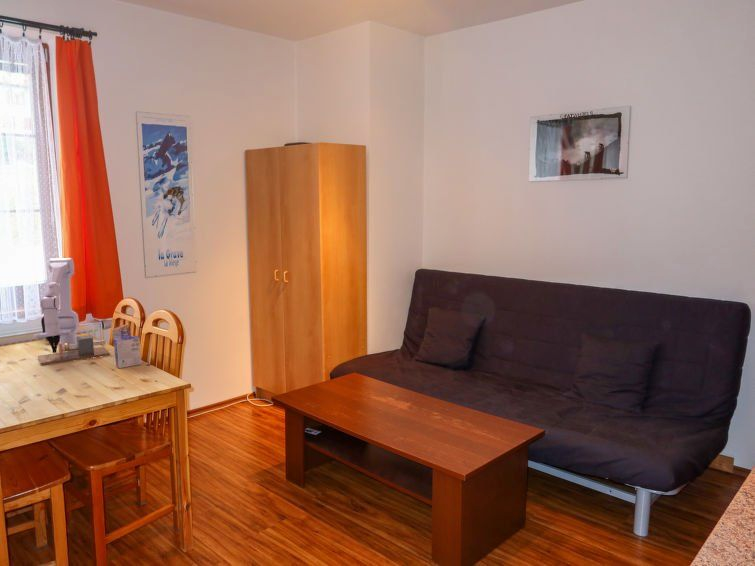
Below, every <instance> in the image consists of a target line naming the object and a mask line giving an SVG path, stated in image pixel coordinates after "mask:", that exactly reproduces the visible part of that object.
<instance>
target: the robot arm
mask: <svg viewBox="0 0 755 566" xmlns="http://www.w3.org/2000/svg"><path fill="white" fill-rule="evenodd" d="M47 264H48V265H47V267H48V270H49V272H50V274H51V275H50V282H49V283H48V284H47V285H46V286H45V287H46V288H45V291H44V296H43V297H41V299H40V308H41V313H42V314H43V316H44V322H45V333H43V332H41V333H35V334H34V335H33V336H34V340H38V339H45V338H47V339H46V341H47V342H48V344H49V345H50V347H51V350H52V354H55V353H58V352H57V349H58V343H59V340H60V341H61V343H62V345H64V344H65V343H69V345H70V344H77V339H76V337H77V329H78V328H79V327H80V321H79V320H80V319H79V314H78V313H77V312H76V311H74V310H73V309H72V290H71V289H72V288H71V279H72V278H71V277H72V276H73V275H75V263H74V260H73V258H72V257H69V258H67V257H66V258H64V257H63V258H49V260H48V263H47ZM58 310H60V311H59V312H58ZM61 316H71V317H61ZM70 350H71V349H69V351H70ZM74 350H77V348H75V349H74Z"/></svg>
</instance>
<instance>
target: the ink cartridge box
mask: <svg viewBox="0 0 755 566" xmlns="http://www.w3.org/2000/svg"><path fill="white" fill-rule="evenodd" d="M123 334H128V335H126V336H123ZM130 334H131V332H130V333H129V332H124V333H121V338H119V339H113V338H112V341H113V340H114V342H113V348H114V349H113V351H114V350H115V352H114V361H115V360H116V362H115V366H116V368H117V369H122V368H128V367H133V366H134V367H135V366H137V365H141V364H142V356H141V355H142V354H141V345H140V344H141V343H140V342H141V341H140V336H137V335H132V336H130Z"/></svg>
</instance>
